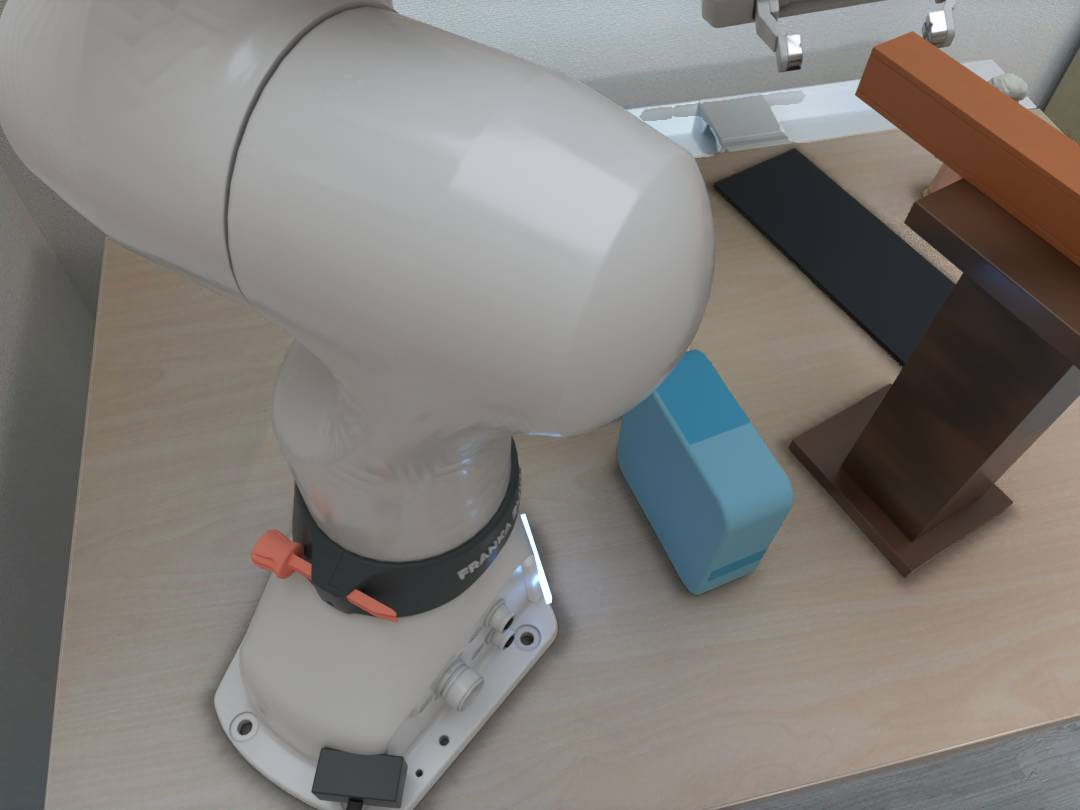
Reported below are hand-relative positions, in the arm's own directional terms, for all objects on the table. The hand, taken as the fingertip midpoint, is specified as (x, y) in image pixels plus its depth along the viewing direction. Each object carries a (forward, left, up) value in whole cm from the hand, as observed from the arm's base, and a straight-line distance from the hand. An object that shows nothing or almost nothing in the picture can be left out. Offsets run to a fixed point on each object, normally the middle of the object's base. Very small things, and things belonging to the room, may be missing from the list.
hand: (864, 55), depth 55 cm
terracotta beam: (-14, -10, +3) cm, 17 cm away
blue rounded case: (-26, -1, -21) cm, 33 cm away
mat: (+5, -4, -21) cm, 22 cm away
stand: (-16, -14, -21) cm, 29 cm away
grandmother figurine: (+17, -10, -21) cm, 29 cm away
